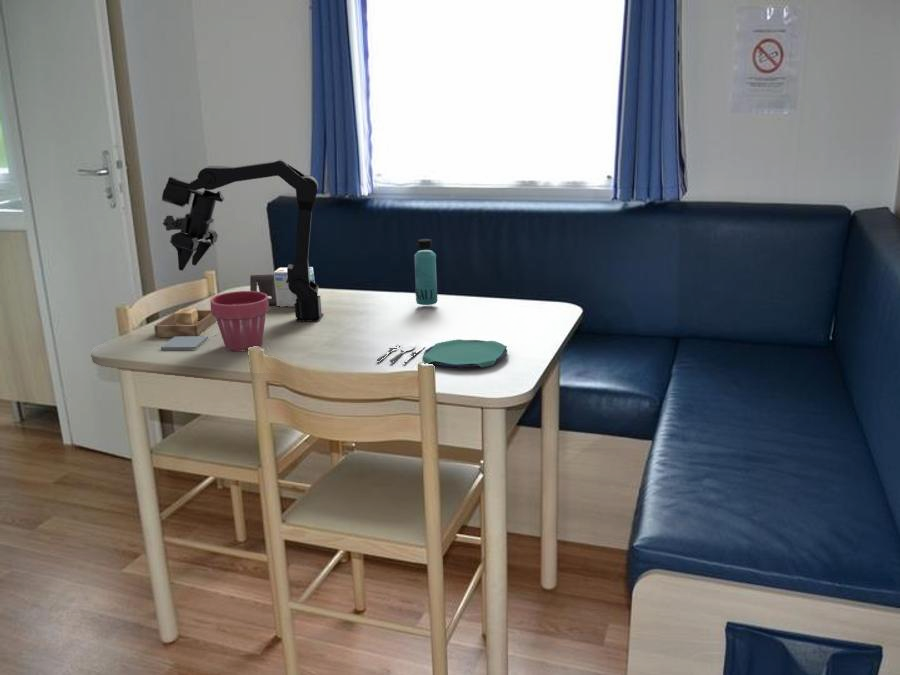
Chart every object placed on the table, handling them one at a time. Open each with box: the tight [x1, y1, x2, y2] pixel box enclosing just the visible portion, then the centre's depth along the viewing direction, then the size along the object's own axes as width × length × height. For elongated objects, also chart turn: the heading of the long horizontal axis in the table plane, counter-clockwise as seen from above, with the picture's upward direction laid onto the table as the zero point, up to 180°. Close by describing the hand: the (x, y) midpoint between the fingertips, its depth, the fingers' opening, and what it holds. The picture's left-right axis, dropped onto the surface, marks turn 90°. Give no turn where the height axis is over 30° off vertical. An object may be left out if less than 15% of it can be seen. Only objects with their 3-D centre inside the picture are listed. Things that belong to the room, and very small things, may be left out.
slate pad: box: [160, 335, 209, 351], centre depth 211 cm, size 9×9×1 cm
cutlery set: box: [376, 338, 508, 368], centre depth 196 cm, size 20×30×2 cm, turn 73°
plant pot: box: [209, 290, 270, 352], centre depth 207 cm, size 14×14×13 cm
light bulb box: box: [273, 266, 316, 308], centre depth 245 cm, size 11×7×11 cm, turn 84°
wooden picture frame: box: [154, 309, 217, 338], centre depth 225 cm, size 12×16×3 cm
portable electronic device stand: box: [249, 273, 277, 306], centre depth 248 cm, size 9×8×8 cm
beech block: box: [175, 308, 199, 325], centre depth 225 cm, size 4×4×5 cm
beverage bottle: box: [413, 238, 438, 306], centre depth 236 cm, size 6×7×20 cm
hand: (187, 267), depth 223 cm, fingers open, 9 cm apart
